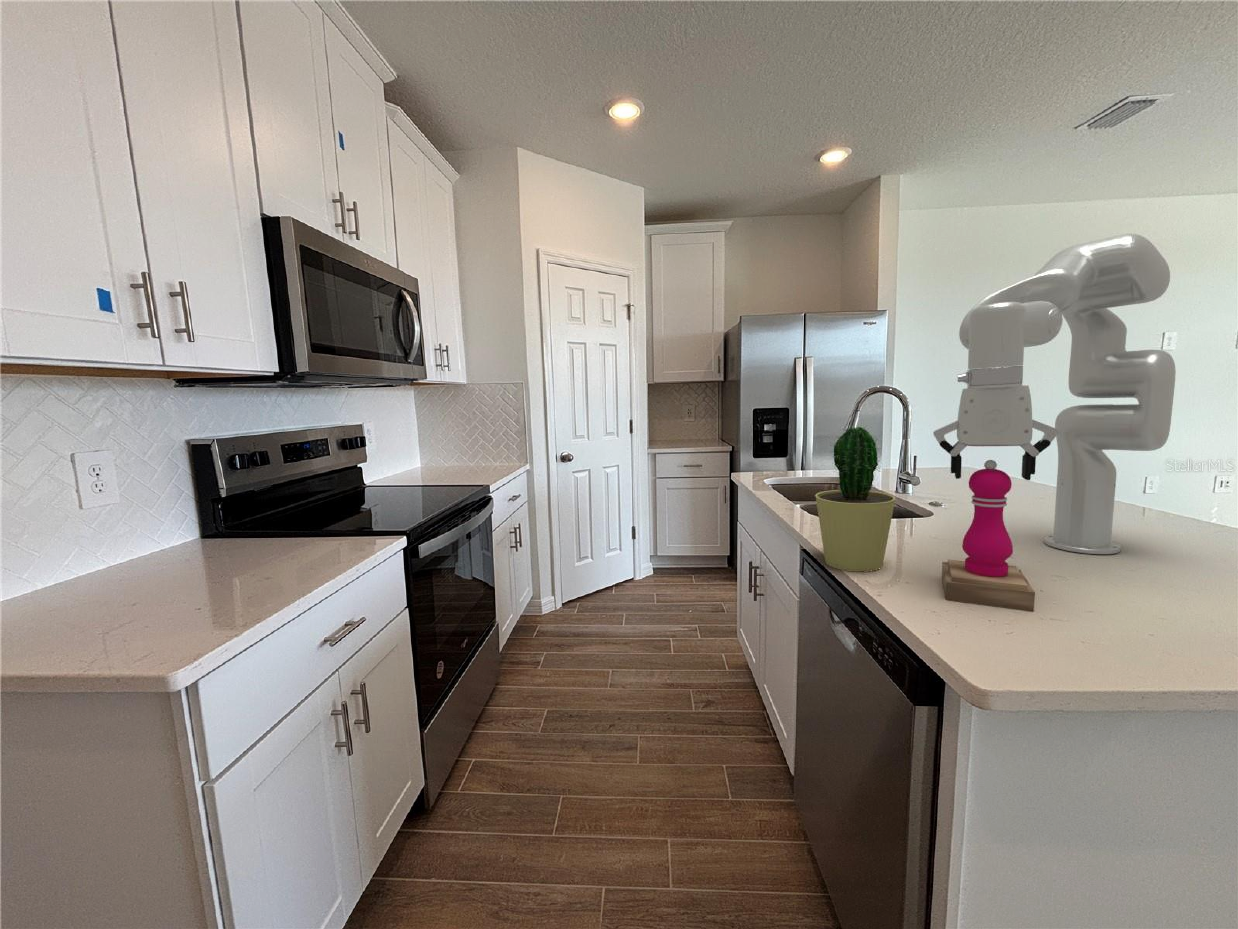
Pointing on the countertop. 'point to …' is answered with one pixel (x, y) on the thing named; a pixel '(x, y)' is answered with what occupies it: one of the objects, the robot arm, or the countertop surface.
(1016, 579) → the wooden box
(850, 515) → the potted cactus
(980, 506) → the pepper mill
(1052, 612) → the countertop surface
